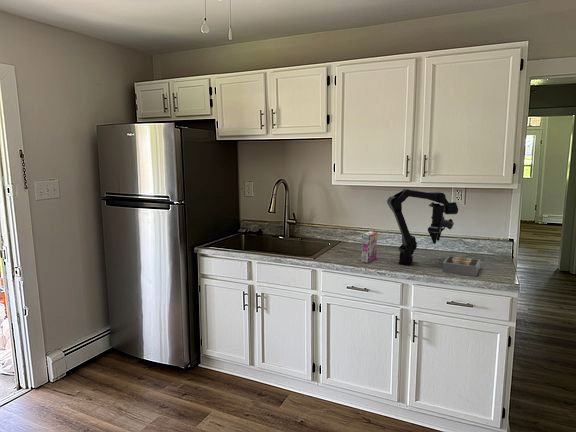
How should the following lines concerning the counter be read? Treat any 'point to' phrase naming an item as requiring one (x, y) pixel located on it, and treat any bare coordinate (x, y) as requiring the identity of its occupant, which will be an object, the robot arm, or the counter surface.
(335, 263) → the counter surface
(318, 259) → the counter surface
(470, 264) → the birch crate
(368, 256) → the candy bar box
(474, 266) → the charcoal crate
